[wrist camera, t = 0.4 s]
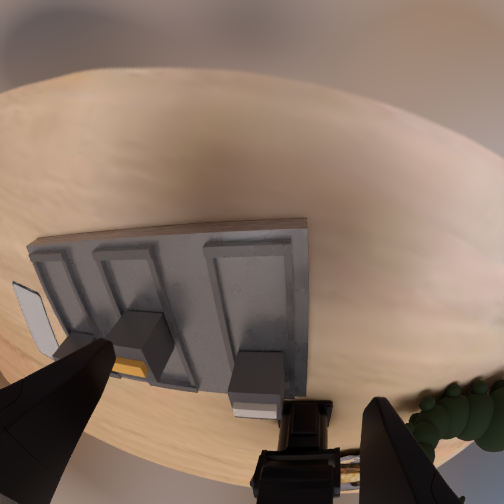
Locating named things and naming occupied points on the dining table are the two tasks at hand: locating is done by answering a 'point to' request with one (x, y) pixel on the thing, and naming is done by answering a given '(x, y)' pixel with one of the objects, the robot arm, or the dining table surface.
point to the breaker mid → (141, 345)
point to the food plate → (350, 474)
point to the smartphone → (36, 319)
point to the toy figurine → (461, 418)
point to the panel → (189, 292)
